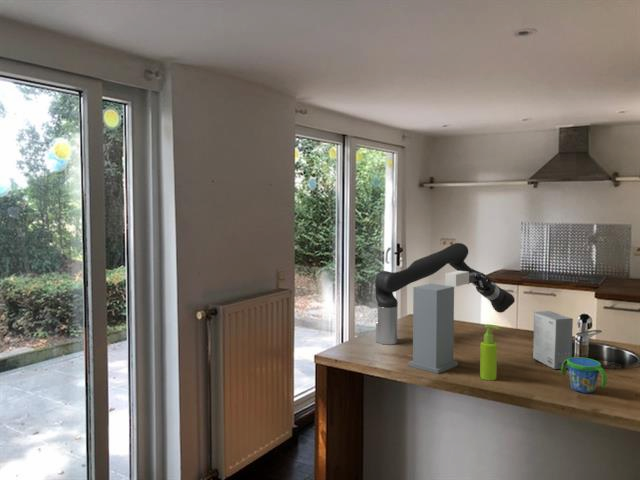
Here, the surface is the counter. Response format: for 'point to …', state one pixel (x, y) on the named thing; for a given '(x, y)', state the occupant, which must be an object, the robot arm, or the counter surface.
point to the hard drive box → (552, 338)
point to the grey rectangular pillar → (433, 328)
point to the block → (460, 278)
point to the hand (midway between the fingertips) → (470, 274)
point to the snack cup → (584, 373)
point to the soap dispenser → (488, 355)
